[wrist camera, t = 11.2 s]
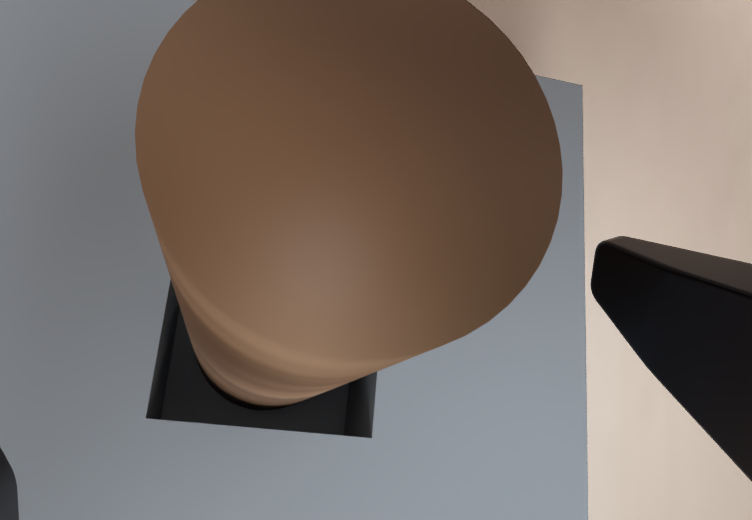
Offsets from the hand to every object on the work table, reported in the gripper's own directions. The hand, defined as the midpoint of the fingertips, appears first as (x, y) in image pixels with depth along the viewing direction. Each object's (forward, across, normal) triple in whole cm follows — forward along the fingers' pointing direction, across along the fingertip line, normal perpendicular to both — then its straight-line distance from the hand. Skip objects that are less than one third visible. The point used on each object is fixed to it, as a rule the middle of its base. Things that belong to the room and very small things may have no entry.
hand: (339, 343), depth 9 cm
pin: (+8, 0, +6) cm, 9 cm away
